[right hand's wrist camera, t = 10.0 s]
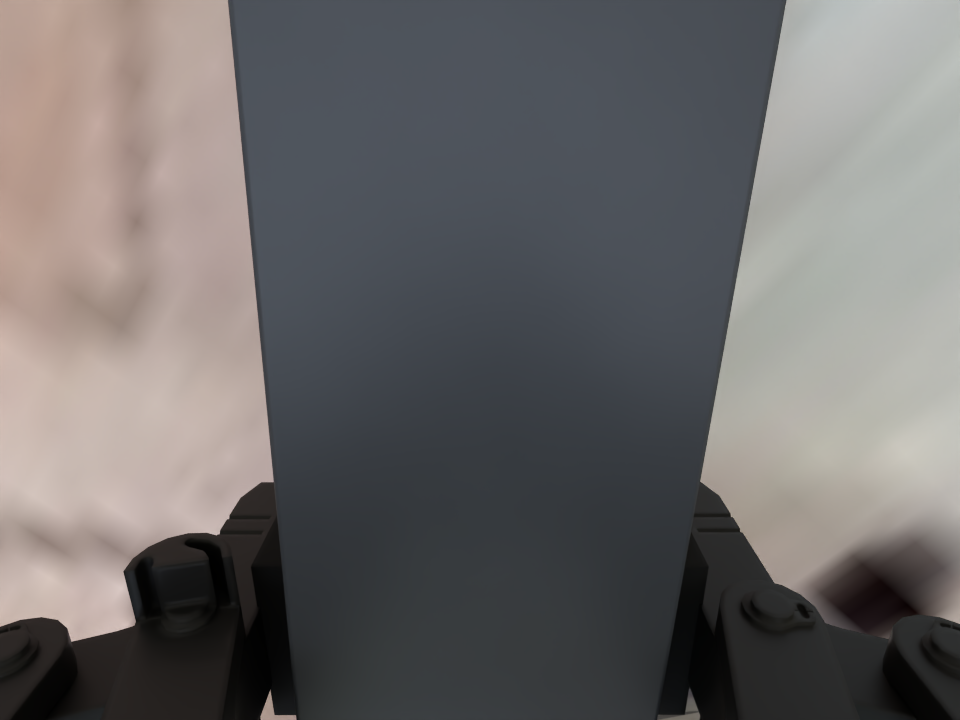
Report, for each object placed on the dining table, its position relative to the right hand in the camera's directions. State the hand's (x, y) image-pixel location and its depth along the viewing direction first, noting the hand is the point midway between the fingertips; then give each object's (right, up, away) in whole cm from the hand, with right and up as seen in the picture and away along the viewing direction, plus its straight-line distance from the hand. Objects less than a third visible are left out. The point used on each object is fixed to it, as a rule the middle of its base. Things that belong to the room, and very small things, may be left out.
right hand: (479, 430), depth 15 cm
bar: (+1, +19, -6) cm, 20 cm away
